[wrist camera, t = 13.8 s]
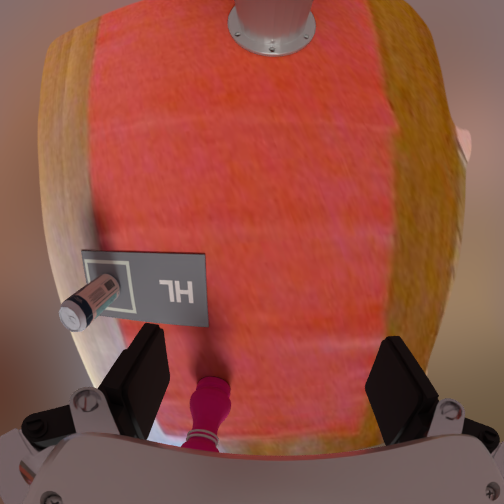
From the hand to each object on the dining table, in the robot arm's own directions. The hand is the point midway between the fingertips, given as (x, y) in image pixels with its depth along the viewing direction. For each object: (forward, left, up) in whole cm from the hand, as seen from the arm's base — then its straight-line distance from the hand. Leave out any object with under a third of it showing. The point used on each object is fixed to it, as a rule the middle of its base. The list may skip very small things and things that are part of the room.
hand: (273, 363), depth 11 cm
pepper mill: (+30, -9, -28) cm, 42 cm away
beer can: (+10, -25, -28) cm, 39 cm away
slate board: (+10, -20, -28) cm, 36 cm away
